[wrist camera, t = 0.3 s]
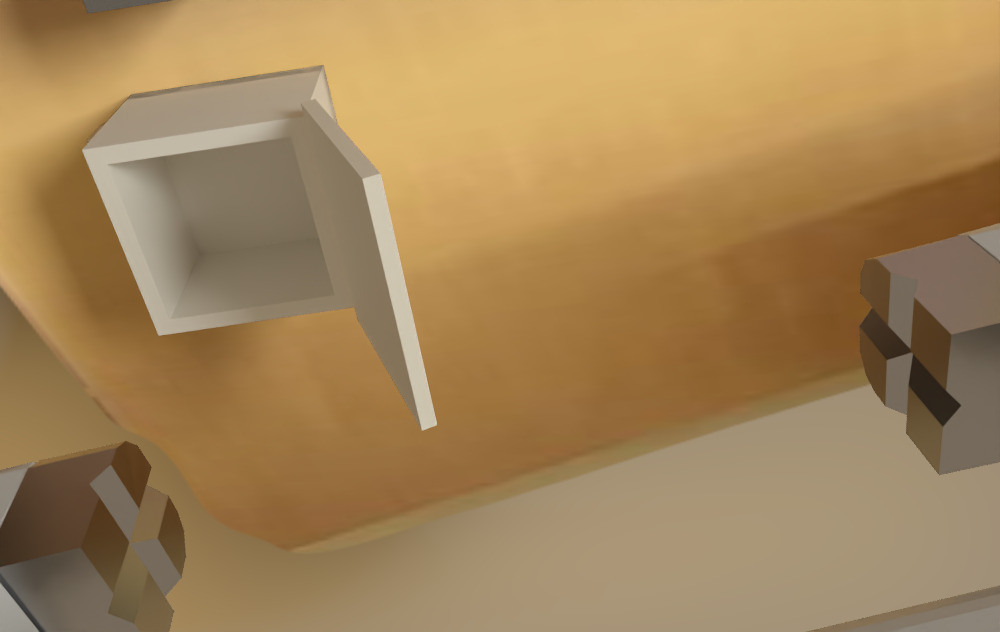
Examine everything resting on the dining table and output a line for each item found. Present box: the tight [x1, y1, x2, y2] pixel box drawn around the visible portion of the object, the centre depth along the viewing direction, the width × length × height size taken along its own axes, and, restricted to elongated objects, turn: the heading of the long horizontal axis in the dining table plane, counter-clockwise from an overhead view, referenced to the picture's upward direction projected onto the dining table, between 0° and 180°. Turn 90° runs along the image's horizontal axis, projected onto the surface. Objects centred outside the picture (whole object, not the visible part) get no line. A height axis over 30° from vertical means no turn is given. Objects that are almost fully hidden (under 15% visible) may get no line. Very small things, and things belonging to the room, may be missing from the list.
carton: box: [82, 65, 354, 336], centre depth 54 cm, size 12×12×9 cm
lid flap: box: [300, 99, 437, 430], centre depth 45 cm, size 14×12×1 cm
